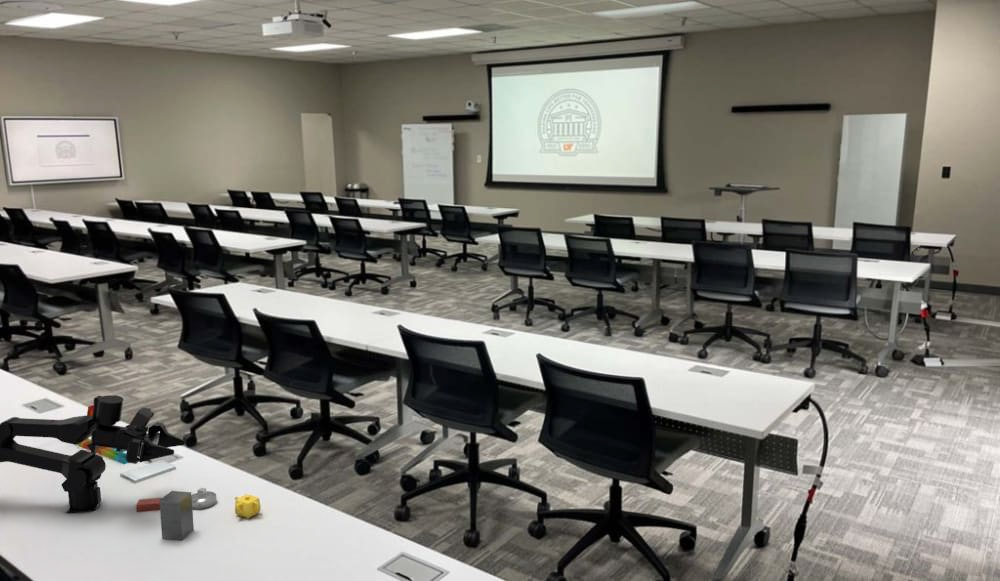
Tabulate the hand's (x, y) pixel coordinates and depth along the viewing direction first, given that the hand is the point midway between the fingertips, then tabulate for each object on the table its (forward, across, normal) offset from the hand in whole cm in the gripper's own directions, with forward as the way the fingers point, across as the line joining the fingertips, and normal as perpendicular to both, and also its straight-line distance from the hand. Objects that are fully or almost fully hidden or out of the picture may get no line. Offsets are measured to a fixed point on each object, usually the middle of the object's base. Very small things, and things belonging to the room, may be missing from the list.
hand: (179, 447), depth 191 cm
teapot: (+21, -5, +13) cm, 25 cm away
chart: (-33, +42, +19) cm, 57 cm away
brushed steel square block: (+7, -14, +17) cm, 23 cm away
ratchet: (+2, +2, +16) cm, 16 cm away
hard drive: (-13, +24, +17) cm, 33 cm away
